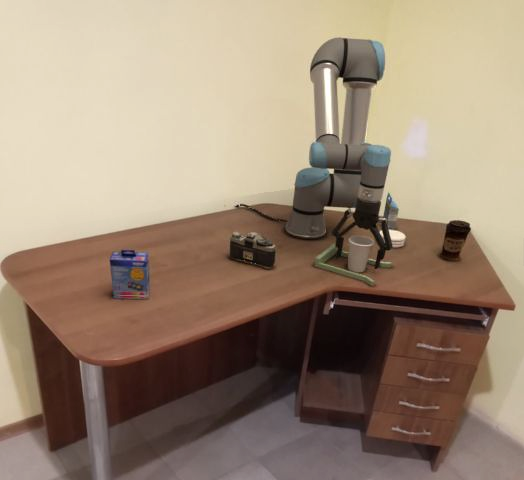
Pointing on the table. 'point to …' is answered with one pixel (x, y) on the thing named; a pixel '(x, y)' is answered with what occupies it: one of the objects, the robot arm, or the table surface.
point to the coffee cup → (454, 239)
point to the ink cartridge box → (130, 274)
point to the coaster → (396, 238)
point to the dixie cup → (359, 252)
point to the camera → (252, 249)
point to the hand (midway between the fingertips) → (357, 262)
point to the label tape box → (390, 212)
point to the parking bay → (328, 254)
